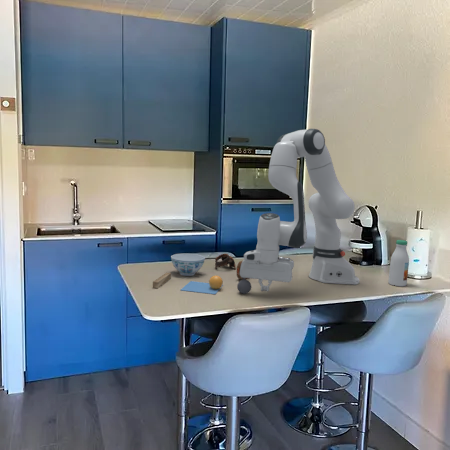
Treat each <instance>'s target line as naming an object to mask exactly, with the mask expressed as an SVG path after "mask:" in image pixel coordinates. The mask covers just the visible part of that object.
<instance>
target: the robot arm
mask: <svg viewBox="0 0 450 450" xmlns="http://www.w3.org/2000/svg"><path fill="white" fill-rule="evenodd" d="M299 158H304V162H305V165H306V166H305V167H306V169H307V173H308V177H309V181H310V184H311V185H312V187H313V188H314V189H315V190H316V191H317V192H316V193H313V194H312V195H311V196H310V197H309V199H308V208H309V210H310V211H311V213H312V217H313V220H314V226H315V239H314V246H313V248H312V249H313V250H312V259H313V260H312V264H311V268H310V271H309V274H308V278H310V279H312V280H313V281H314V280H315V281H318V282H320V283H323V284H340V285H355V286H356V285H359V284H360V278H359V277H358V276H356V271H355V268H354V266H353V265H352V264H351V263H350V262H349V261H348V260H347V259H346V258H345V256H346V252H345V251H344V250H343V249H341V248H340V247H341V236H342V232H341V229H340V227H339V226H338V224H337V223H338V222H337V220H346V219H349V218H351V216H352V215H353V214H354V212H355V209H356V208H355V202H354V200H353V199H352V198H351V197H350V196H349V195H348V194H347V193H346V192H345V190H344V188H343V186H342V185H341V183H340V182H339V180H338V177H337V174H336V171H335V167H334V164H333V160H332V157H331V154H330V151H329V149H328V147H327V145H326V139H325V136H324V134H323V133H322V131H321V130H320V129H317V128H308V129H299V130H295V131H292V132H289V133H285V134H282V135H281V136H279V137H278V139H277V140H276V144H275V145H274V146H273V149H272V152H271V156H270V160H269V166H268V173H267V175H268V176H267V177H268V182H269V184H270V185H271V187H273V188H274V189H276V190H278V191H279V192H282V193H283V194H286V195H288V196H289V197H291V199H292V202H293V217H294V219H293V221H284V220H281V219H280V217H281V216H280V215H279V214H277V213H275V212H274V213H273V212H266V213H263V214H261V215H260V216H259V219H258V224H257V232H256V238H257V244H256V247H255V249H254V250H249V251H246V252H245V253H244V254H243V260H242V261H243V262H242V263H241V267H240V276H241V277H243V278H249V279H253V280H258V284H259V286H260V291H262V292H263V291H264V292H269V290H270V287H271V285H272V283H273V282H283V283H290V282H291V281H292V280H293V269H294V268H295V261H294V259H292V258H290V257H284V256H279V255H280V246H285V247H286V246H287V247H290V248H295V249H299V248H301V247H302V246H303V245H305V244H306V243H307V239H308V231H307V225H306V211H305V210H306V207H305V194H304V193H305V192H304V187H303V184H302V182H300V181H299V180H298V177H297V167H298V159H299ZM263 281H267V283H268V284H267V285H264V284H263Z"/></svg>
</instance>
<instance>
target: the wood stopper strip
mask: <svg viewBox="0 0 450 450" xmlns="http://www.w3.org/2000/svg"><path fill="white" fill-rule="evenodd" d="M171 279H172V272H166V273H165V272H164V274H162V275H160V276H159V277H158V278H157V279H155V280H153V281H152V288H153V289H159V288H160V287H162V286H163V285H164V284H166V283H168V281H170V280H171Z"/></svg>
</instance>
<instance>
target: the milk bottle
mask: <svg viewBox="0 0 450 450" xmlns="http://www.w3.org/2000/svg"><path fill="white" fill-rule="evenodd" d="M395 246H396V247H395V249H394V251H393V253H392V254H391V258H390V264H389V270H388V271H389V272H388V284H389V285H391V286H394V285H395V287H406V286H407V283H408V275H409V265H410V258H409V257H410V256H409V254H408V251H407V246H408V240H403V239H397V240H396V241H395Z"/></svg>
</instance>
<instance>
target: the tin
mask: <svg viewBox="0 0 450 450" xmlns="http://www.w3.org/2000/svg"><path fill="white" fill-rule="evenodd" d="M242 262H243V260H240V261H239V262H238V264H237V265H236V277H237V278H238V279H239V280H240V281H241V280H249V279H250V278H243V277H241V276H240V267H241V263H242Z"/></svg>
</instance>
